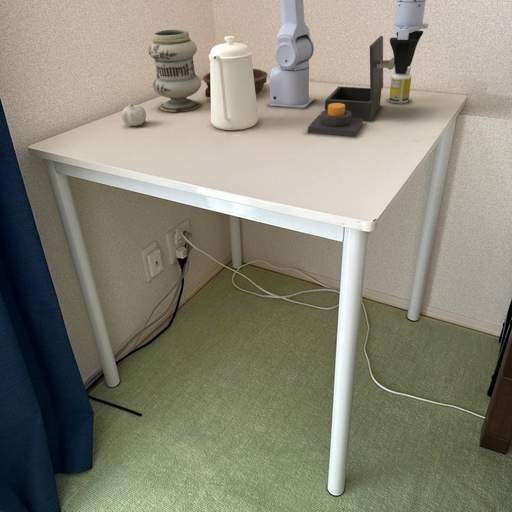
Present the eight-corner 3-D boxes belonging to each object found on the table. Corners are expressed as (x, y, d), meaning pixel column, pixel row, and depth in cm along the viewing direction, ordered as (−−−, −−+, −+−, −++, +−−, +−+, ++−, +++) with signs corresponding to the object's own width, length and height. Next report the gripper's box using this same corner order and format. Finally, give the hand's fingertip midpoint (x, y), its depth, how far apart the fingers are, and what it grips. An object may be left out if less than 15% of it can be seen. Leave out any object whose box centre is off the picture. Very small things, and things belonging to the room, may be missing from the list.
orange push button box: (307, 133, 106) (308, 117, 104) (319, 121, 113) (319, 105, 111) (353, 137, 102) (354, 121, 100) (362, 124, 109) (363, 108, 107)
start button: (325, 116, 105) (326, 107, 104) (330, 111, 108) (330, 102, 107) (342, 117, 104) (343, 108, 103) (346, 112, 107) (346, 103, 105)
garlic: (134, 130, 112) (130, 107, 110) (118, 126, 115) (114, 104, 112) (152, 122, 117) (149, 100, 114) (136, 119, 119) (132, 98, 116)
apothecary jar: (159, 116, 121) (147, 37, 111) (154, 103, 131) (142, 30, 121) (207, 110, 124) (200, 32, 114) (198, 98, 133) (191, 26, 124)
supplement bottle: (406, 98, 125) (411, 64, 121) (409, 103, 121) (414, 68, 117) (387, 98, 126) (391, 64, 121) (390, 104, 122) (393, 68, 117)
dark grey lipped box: (324, 118, 114) (325, 99, 112) (337, 103, 124) (338, 86, 121) (370, 122, 110) (371, 102, 108) (379, 106, 120) (381, 88, 118)
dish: (185, 97, 135) (183, 78, 132) (241, 81, 148) (240, 63, 146) (230, 107, 125) (229, 87, 122) (285, 89, 138) (285, 70, 135)
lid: (369, 45, 102) (391, 44, 101) (380, 36, 112) (400, 34, 110) (370, 101, 108) (391, 100, 106) (380, 87, 118) (399, 86, 116)
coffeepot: (195, 142, 104) (185, 47, 93) (225, 108, 124) (219, 28, 114) (245, 144, 101) (240, 47, 91) (267, 109, 122) (265, 27, 112)
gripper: (427, 4, 94) (418, 78, 101) (434, -3, 105) (425, 63, 112) (390, 4, 96) (383, 76, 104) (400, -3, 107) (394, 62, 115)
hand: (403, 69), depth 108 cm, fingers open, 7 cm apart
